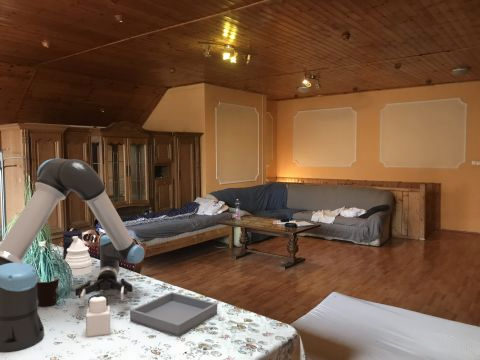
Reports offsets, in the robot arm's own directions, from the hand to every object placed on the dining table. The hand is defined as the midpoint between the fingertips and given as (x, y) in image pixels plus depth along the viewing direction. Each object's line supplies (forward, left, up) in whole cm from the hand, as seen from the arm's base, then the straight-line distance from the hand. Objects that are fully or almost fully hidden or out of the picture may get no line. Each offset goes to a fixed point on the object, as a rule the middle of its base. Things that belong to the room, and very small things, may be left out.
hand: (102, 297), depth 141 cm
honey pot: (-54, +30, -8) cm, 62 cm away
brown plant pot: (-29, -1, -8) cm, 30 cm away
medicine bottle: (+7, -7, -8) cm, 13 cm away
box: (+21, +15, -8) cm, 27 cm away
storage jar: (-76, +43, -8) cm, 88 cm away
